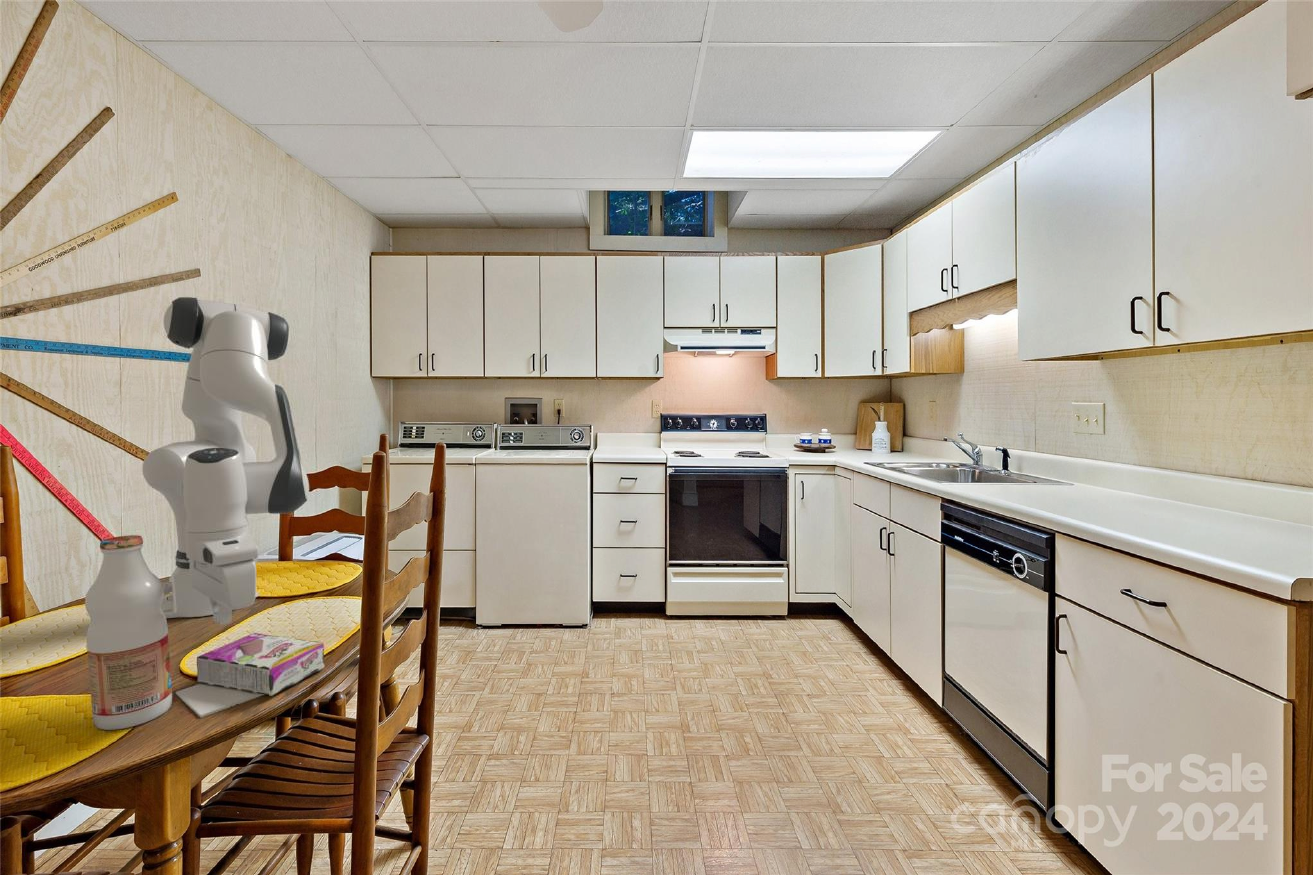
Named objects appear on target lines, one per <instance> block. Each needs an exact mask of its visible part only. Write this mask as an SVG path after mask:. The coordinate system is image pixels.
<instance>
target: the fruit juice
mask: <svg viewBox="0 0 1313 875" xmlns="http://www.w3.org/2000/svg"><path fill="white" fill-rule="evenodd" d="M143 547H144V539H143V537H142V535H137V534H136V535H135V534H131V535H129V534H128V535H120V536H119V535H118V536H113V537H109V538H105V539H102V540H101V541H100V542H99V549H100V553H101V554H103V557H102V558H103V559H102V563H101V565H100V569H99V571H98V575H97V577H96V579H95V580H94V582H93V583H92V585H90V587H89V589H88V590H87V592H86V594H85V597H84V607H85V610H86V613H87V614H88V616H89V618H90V624H89V626H88V628H87V631H86V651H87V664H88V674H89V675H88V676H89V687H90V700H91V701H90V702H91V712H92V713H91V715H92V721H93V724H94V726H95V727H96V728H97V729H99V730H103V731H104V730H105V731H115V730H123V729H128V728H132V727H136V726H139V725H142V724H145V723H147V722H150V721H153V720H154V719H157V718H158V717H160V716H162V715H163V714H165V713H166V712H167V711H168V710H169V709H170V708H171V706H172V703H173V702H172V701H173V692H172V691H173V689H172V674H171V660H170V647H169V645H170V644H169V629H168V627H169V626H168V623H167V622H168V621H167V618H166V616H165V614H164V613H163V611H162V609H161V603H162V599H163V596H165V595H164V594H165V593H164V589H163V584H162V583H163V582H162V580H161V579H160V578H159V577H158V576H157V575H156V574H155V573H153V572H152V571H151V569H150V568H149V567H148V565H147V563H146V561H145V558H144V556H143V554H142V548H143Z"/></svg>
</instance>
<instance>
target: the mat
mask: <svg viewBox="0 0 1313 875" xmlns="http://www.w3.org/2000/svg"><path fill="white" fill-rule="evenodd" d="M298 683H299V681H298V682H296V683H294V684H292V685H296V684H298ZM292 685H291V686H292ZM175 695H176V696H177V697H178V698H179V699H181V700H182V702H184V703H185V704H186V705H187V706H188V707H189V708H190V710H192V711H193V712H194V713H195V714H196V715H197V716H198V717H199V718H201V719H202V718H204V717H206V716H209V715H212V714H215V713H217V712H221V711H224V710H226V709H229V708H231V706H232V707H235V706H237V705H236V704H238V705H239V704H240V705H241V704H242V703H246V702H248V701H251V700H255V699H256V698H260V697H261V696H265V694H260V693H254V692H248V691H243V690H237V689H232V688H226V687H221V686H215V685H209V684H204V683H197V684H195V685H193V686H190V687H186V688H183V689H180V690H177V691H175Z"/></svg>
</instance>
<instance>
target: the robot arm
mask: <svg viewBox="0 0 1313 875" xmlns="http://www.w3.org/2000/svg"><path fill="white" fill-rule="evenodd" d="M162 321H163V328H164V332H165V334H166V338H167V339H168V340H169V341H170V342H172V344H174V345H177V346H179V347H182V348H185V349H192V352H191V355H190V359H189V361H188V366H187V371H186V376H185V381H184V382H185V383H184V388H183V394H182V395H183V396H182V400H181V401H182V402H181V411H182V413H183V415H184V416H185V417H186V418H187V419H189V420H190V421H191V422H192V425H193V428H194V434H195V435H194V440H188V441H187V440H186V441H180V442H173V443H169V444H167V445H163V446H161V447H158V448H155V449H153V450H152V451H150V452H149V453H148V454H147V455H146V456H145V458H144V459H143V463H142V468H141V469H142V474H143V478H144V480H145V482H146V483H147V484H148V486H149V487H151V488H152V489H154V490H155V491H157V492H159V493H160V494H162V496H163V497H164V498H165V499H166V501H167V503H168V504H169V506H170V508H171V510H172V512H173V516H174V518H175V519H174V520H175V524H176V525H175V527H176V534H177V546H178V547H177V548H178V549H177V550H176V552H175V553H176V554H175V566H176V567H175V569H174V570H173V572H172V574H171V575H170V576H169V579H168V582H162V584H163V589H164V594H166V595H163V599H162V603H161V609H162V611H163V613H164V614H165V616H166V619H174V618H195V617H197V618H198V617H199V618H200V617H206V616H212V617H213V621H215V622H216V623H217V624H219V625H221V626H224V625H227V624H231V623H232V622H233V621H232V613H233V611H234V610H239V609H243V608H247V607H250V606H252V605H253V604H254V603H255V600H256V598H258V596H259V591H257V566H256V561H255V559H258V558H259V556H260V555H259V554H260V553H259V547H258V545H257V543H255V541H254V540H253V538H252V536H251V533H250V528H249V519H248V517H247V515H256V514H274V515H275V514H276V515H277V514H278V515H282V514H284V515H286V514H287V515H289V514H293V513H294V512H295V511H297V510H299V508H301V507H302V506H303V505H305V503H306V502H307V501H308V497H309V495H310V494H309V493H310V483H309V478H308V475H307V472H306V470H305V467H304V466H303V463H302V462H303V461H302V459H301V454H300V449H299V443H298V438H297V434H296V429H295V428H296V427H295V423H294V419H293V415H292V414H293V413H292V410H291V406H290V402H289V399H288V396H287V393H286V391H285V389H284V388H283V387H282V386H280V385H278V384H275V382H274V381H273V380H272V378H271V377H270V374H269V361H273V360H274V361H275V360H278V359H279V358H281V357H283V356H284V355H285V354H286V351H287V349H288V348H289V345H290V343H291V332H290V327H289V326H290V325H289V323H288V322H287V320H286V319H285V318H284V317H282V316H280V315H278V314H276V313H273V312H270V311H269V312H265V311H263V310H259V309H256V308H252V307H249V306H245V305H240V304H235V303H232V304H231V303H226V302H221V301H212V300H205V299H198V298H197V297H191V296H190V297H189V296H183V297H181V296H180V297H178V298H175V299H174V300H172V301H171V304H170V305H169V306H168V307H167V308H166V311H165V312H164V315H163V320H162ZM243 413H246V414H249V415H251V416H255V417H258V418H260V419H262V420H263V421H266V422H267V423H268V425H269V426H270V430H271V436H272V441H273V446H274V451H275V452H274V453H275V458H273V459H272V460H269V461H257V453H256V450H255V449H254V448H253V446H252V445H251V444H250V443H249V442H248V440H247V438H246V435H245V432H244V427H243ZM167 593H168V594H167Z"/></svg>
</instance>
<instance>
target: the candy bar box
mask: <svg viewBox="0 0 1313 875" xmlns="http://www.w3.org/2000/svg"><path fill="white" fill-rule="evenodd" d="M324 651H325V645H324V642H321V641H320V642H319V641H313V640H312V641H311V640H306V639H300V638H299V639H298V638H292V637H291V638H290V637H285V636H278V635H270V634H264V633H259V632H258V633H257V632H253V633H250V634H248V635H246V636H243V637H241V638H239V639H236V640H234V641H232V642H230V643H227V644H225V645H223V646H220V647H217V648H215V649H213V650H210V651H208V652H205V653H202V654H201V655H198V656H196V669H197V671H196V672H197V673H196V674H197V684H201V683H204V684H209V685H215V686H221V687H226V688H232V689H237V690H243V691H248V692H254V693H260V694H265V695H266V696H270V697H272V696H274V695H276V694H277V693H279V692H281V691H283V690H285V689H287V688H288V687H290V686H292V684H293V685H295V684H294V683H296V682H298V683H299V682H300V681H302V680H304V679H305V678H308V677H309V676H312V675H313V674H314V673H317V672H319V671H320V670H322V669H325V653H324ZM296 684H297V683H296ZM265 695H264V696H265Z"/></svg>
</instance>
